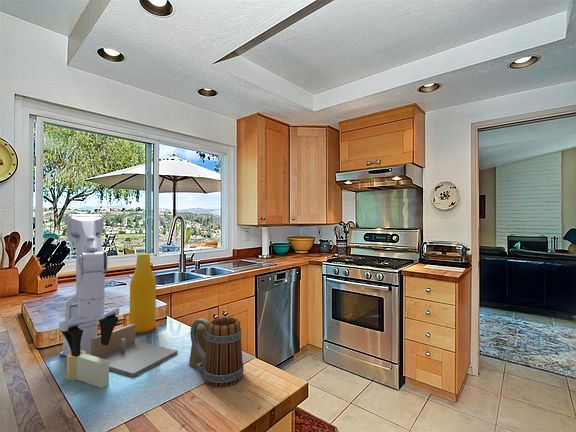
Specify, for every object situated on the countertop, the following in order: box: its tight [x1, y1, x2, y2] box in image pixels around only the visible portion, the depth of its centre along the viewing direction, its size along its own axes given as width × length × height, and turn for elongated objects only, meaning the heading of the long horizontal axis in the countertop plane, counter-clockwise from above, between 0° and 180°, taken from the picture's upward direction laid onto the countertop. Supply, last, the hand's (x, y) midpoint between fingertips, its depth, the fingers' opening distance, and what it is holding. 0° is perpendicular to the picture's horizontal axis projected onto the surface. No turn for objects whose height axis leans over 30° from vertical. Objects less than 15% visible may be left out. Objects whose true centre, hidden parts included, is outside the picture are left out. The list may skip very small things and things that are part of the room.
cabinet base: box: [91, 324, 178, 378], centre depth 93 cm, size 20×16×7 cm
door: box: [66, 350, 110, 389], centre depth 80 cm, size 14×4×6 cm, turn 66°
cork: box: [188, 324, 207, 369], centre depth 90 cm, size 6×6×11 cm
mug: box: [189, 316, 245, 388], centre depth 83 cm, size 16×11×15 cm
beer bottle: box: [128, 253, 157, 334], centre depth 118 cm, size 9×9×29 cm
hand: (90, 349), depth 80 cm, fingers open, 7 cm apart
